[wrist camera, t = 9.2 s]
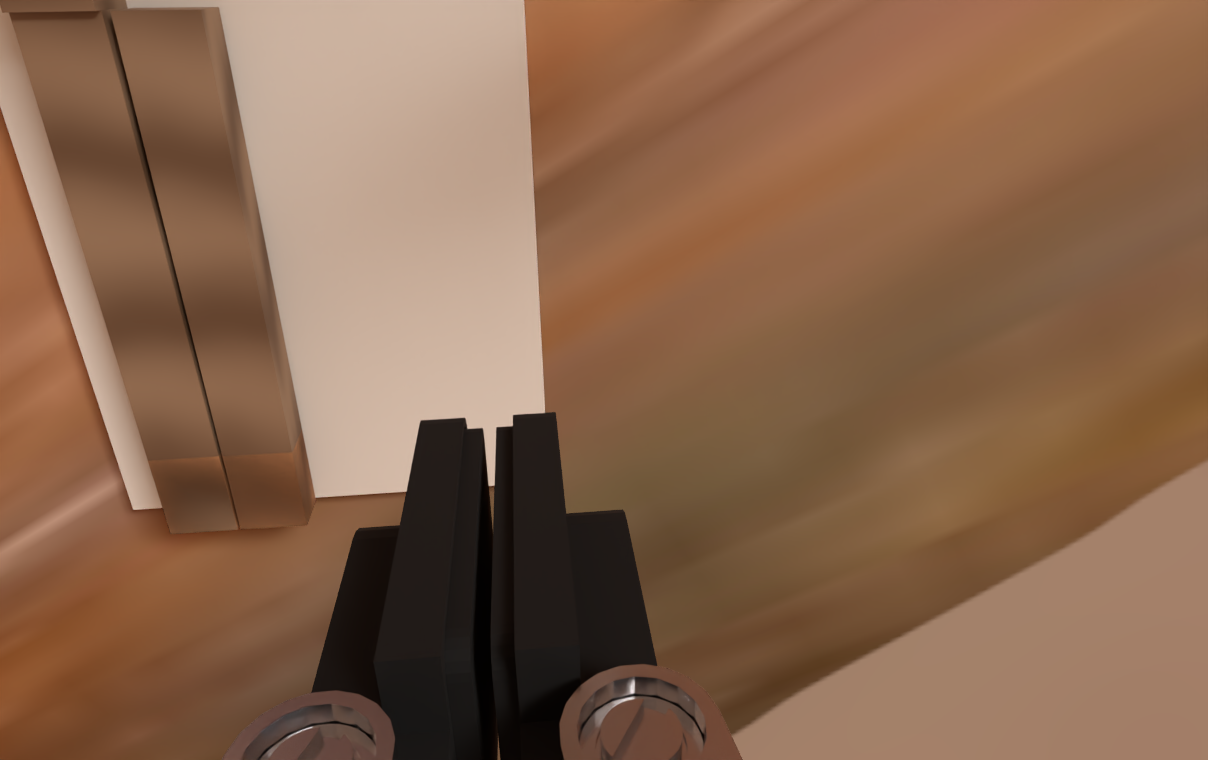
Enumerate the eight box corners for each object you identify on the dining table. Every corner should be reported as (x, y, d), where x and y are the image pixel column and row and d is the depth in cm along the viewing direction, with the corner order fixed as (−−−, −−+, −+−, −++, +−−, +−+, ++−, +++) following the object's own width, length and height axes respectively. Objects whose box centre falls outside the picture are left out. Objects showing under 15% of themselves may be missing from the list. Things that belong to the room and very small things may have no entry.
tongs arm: (133, 7, 30) (109, 10, 28) (218, 6, 30) (200, 9, 29) (252, 504, 40) (240, 529, 38) (315, 500, 40) (307, 525, 38)
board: (-67, -151, 28) (-87, -155, 27) (516, -152, 30) (516, -155, 29) (141, 497, 41) (133, 509, 40) (547, 471, 42) (548, 482, 41)
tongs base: (-2, -137, 28) (-56, -147, 25) (91, -138, 28) (47, -148, 26) (187, 506, 40) (164, 545, 37) (250, 502, 40) (232, 540, 38)
